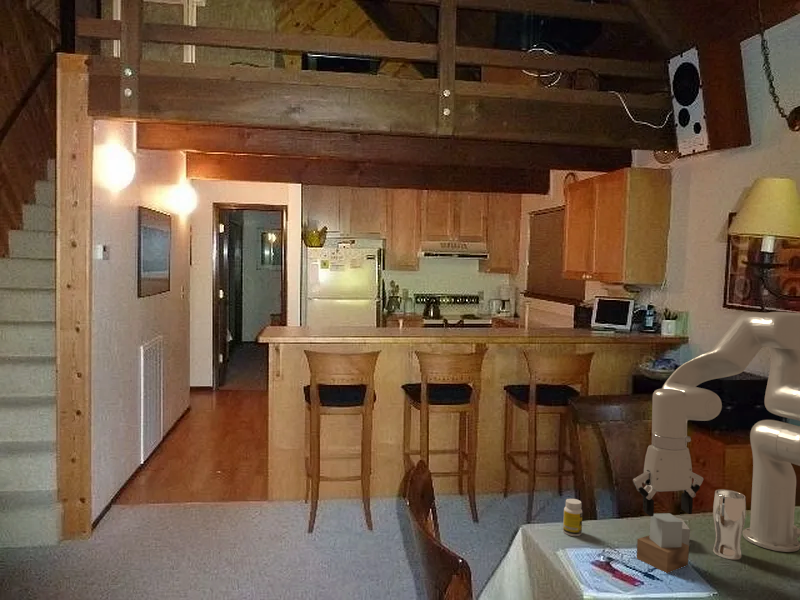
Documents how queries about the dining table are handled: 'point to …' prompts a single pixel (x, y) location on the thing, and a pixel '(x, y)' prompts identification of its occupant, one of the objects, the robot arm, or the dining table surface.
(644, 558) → the walnut block
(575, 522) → the supplement bottle
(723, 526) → the beer glass
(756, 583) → the dining table surface
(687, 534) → the grey block
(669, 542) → the painted block
